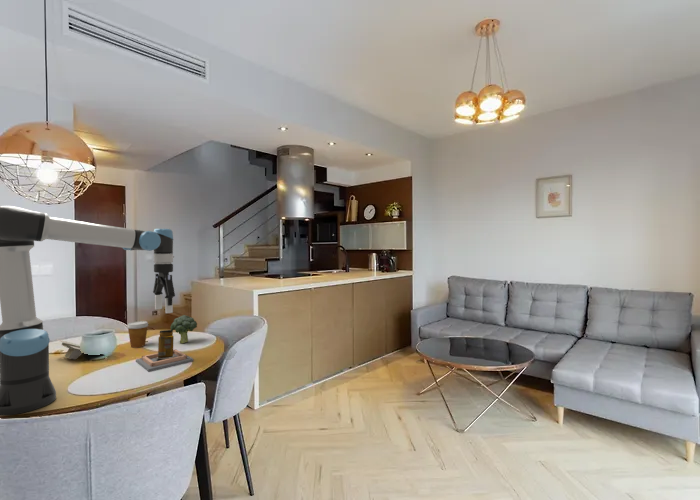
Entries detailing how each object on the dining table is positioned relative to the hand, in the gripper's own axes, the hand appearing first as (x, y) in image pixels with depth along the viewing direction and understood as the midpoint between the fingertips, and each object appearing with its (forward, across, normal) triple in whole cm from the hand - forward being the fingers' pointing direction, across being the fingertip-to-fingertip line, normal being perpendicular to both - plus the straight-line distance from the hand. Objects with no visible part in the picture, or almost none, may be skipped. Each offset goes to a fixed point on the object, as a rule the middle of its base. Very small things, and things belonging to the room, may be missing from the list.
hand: (163, 310), depth 154 cm
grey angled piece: (+23, +35, +24) cm, 49 cm away
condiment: (+21, -1, 0) cm, 21 cm away
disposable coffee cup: (+23, +36, +1) cm, 43 cm away
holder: (+23, 0, 0) cm, 23 cm away
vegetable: (+23, +25, -18) cm, 38 cm away
